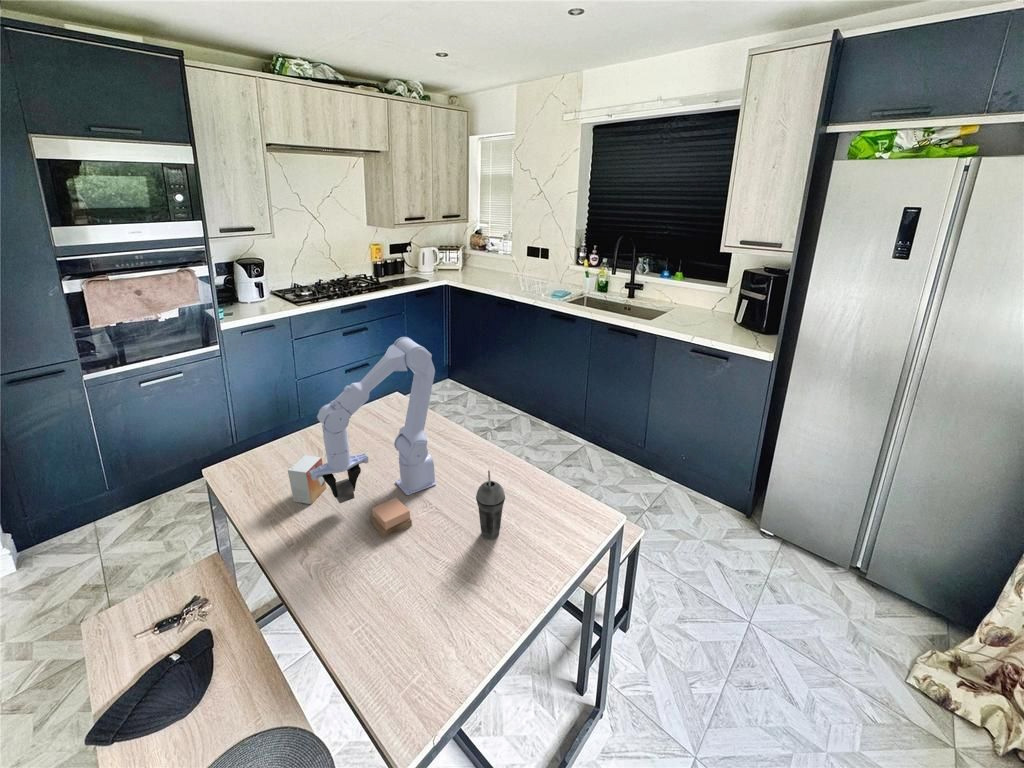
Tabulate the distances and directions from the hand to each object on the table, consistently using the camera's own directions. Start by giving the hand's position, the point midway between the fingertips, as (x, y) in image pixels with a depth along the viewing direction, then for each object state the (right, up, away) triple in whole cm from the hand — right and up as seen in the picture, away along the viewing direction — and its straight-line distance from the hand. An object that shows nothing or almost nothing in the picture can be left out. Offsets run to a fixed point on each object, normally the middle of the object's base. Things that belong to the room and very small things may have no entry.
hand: (343, 492), depth 132 cm
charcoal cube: (0, -1, +1) cm, 2 cm away
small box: (-12, -3, +8) cm, 15 cm away
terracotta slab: (+13, -6, -3) cm, 15 cm away
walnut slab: (+13, -8, -2) cm, 16 cm away
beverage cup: (+39, -10, -5) cm, 41 cm away
